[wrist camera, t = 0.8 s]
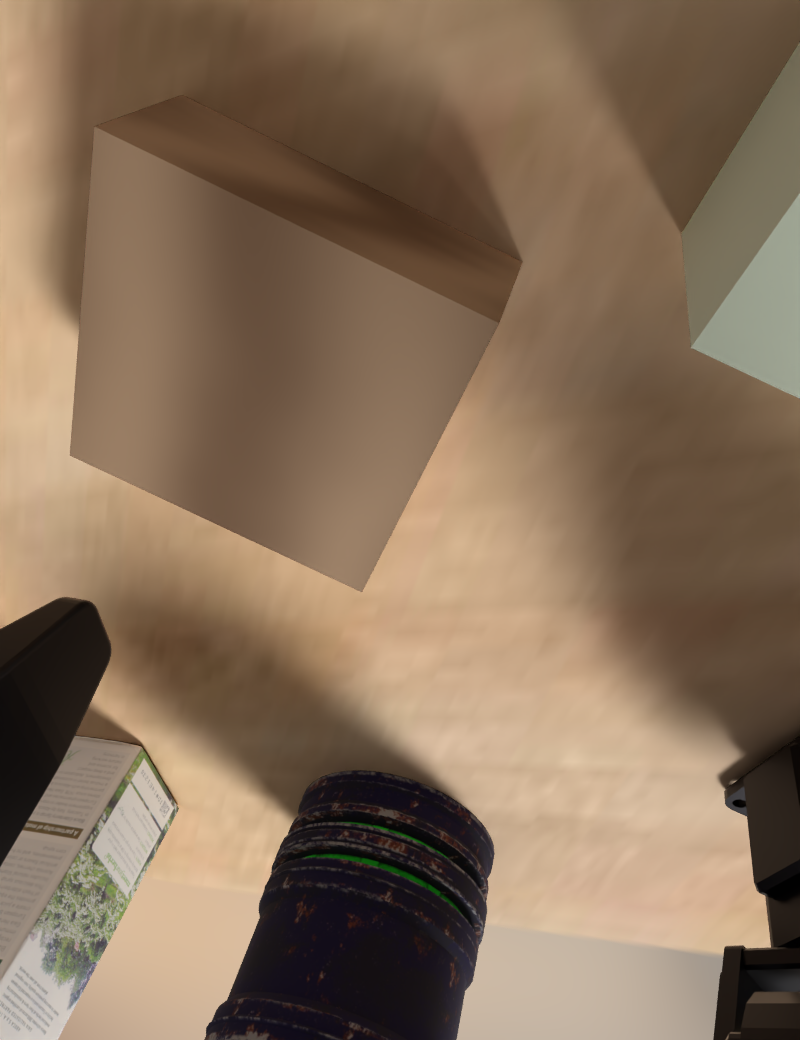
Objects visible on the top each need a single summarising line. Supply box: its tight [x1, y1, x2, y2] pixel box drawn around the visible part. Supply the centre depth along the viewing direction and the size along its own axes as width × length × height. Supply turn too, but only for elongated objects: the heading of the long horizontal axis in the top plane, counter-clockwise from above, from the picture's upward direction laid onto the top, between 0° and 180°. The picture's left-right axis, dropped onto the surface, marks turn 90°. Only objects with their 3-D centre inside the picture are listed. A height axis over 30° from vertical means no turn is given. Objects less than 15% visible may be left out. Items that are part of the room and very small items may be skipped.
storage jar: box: [205, 771, 494, 1040], centre depth 30 cm, size 10×10×15 cm
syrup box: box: [0, 736, 179, 1040], centre depth 34 cm, size 6×6×14 cm
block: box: [70, 95, 522, 592], centre depth 20 cm, size 9×9×4 cm
